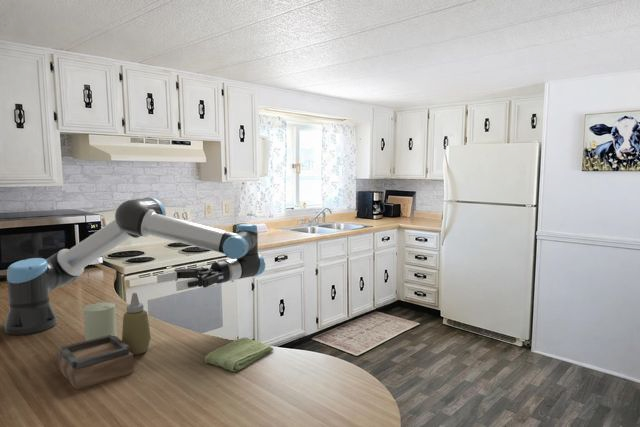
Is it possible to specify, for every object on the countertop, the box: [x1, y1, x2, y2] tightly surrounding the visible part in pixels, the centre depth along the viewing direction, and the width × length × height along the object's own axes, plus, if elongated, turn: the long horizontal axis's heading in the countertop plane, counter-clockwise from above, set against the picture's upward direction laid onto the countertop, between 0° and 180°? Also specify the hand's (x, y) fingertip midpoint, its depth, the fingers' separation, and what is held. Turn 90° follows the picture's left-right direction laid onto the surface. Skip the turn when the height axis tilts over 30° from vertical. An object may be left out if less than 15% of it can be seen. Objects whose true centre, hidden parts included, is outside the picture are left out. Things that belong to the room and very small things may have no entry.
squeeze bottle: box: [121, 292, 152, 356], centre depth 128 cm, size 8×8×18 cm
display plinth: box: [57, 335, 135, 391], centre depth 116 cm, size 16×14×6 cm
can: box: [83, 301, 118, 341], centre depth 136 cm, size 9×9×12 cm
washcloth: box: [204, 337, 274, 373], centre depth 125 cm, size 13×18×3 cm
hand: (166, 282), depth 134 cm, fingers open, 13 cm apart
